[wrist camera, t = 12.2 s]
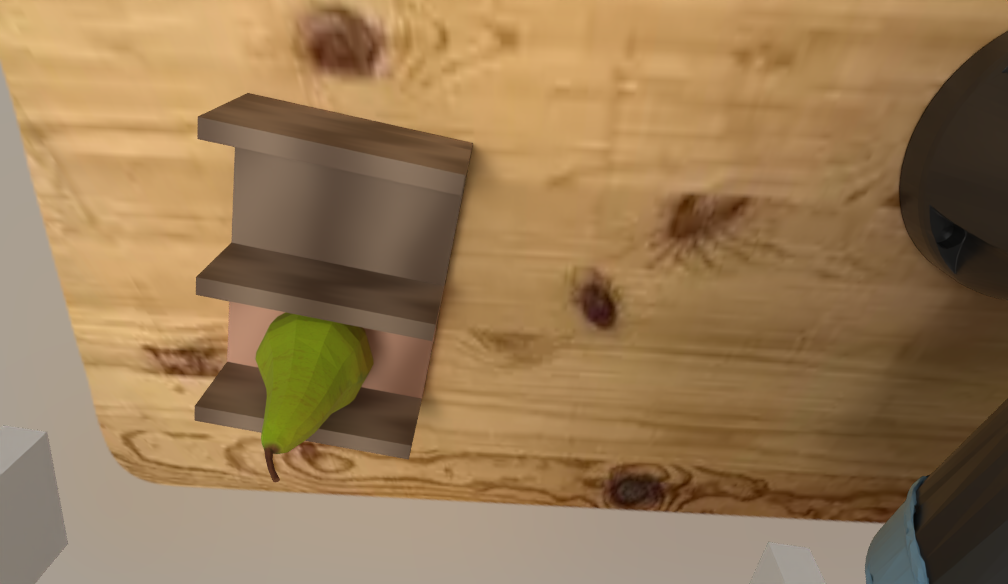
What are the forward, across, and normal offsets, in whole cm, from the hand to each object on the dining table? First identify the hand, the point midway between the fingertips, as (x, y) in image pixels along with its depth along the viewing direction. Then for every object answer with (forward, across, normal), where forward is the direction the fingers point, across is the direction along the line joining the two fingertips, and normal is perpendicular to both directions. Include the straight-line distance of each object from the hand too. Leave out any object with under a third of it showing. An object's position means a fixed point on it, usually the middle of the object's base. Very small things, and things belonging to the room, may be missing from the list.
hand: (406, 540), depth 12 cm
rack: (+26, +8, +7) cm, 28 cm away
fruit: (+25, +8, +11) cm, 28 cm away
